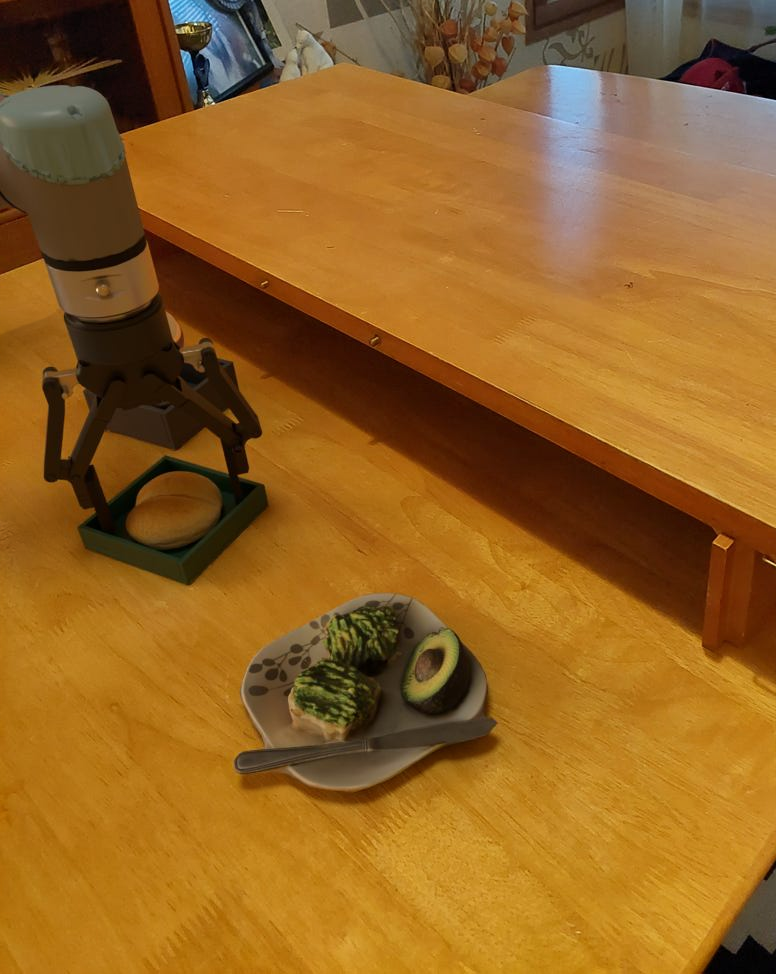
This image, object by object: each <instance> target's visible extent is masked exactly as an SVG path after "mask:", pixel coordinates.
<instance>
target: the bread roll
mask: <svg viewBox="0 0 776 974" xmlns="http://www.w3.org/2000/svg"><path fill="white" fill-rule="evenodd" d="M222 507H223V498H222V495H221V493H220V491H219V488H218V487H217V486H216V485H215V484H214V483H213V482H212V481H211V480H210V479H208V478H206V477H204V476H202V475H199V474H196V473H193V472H185V471H175V472H169V473H165V474H162V475H160V476H158V477H156V478H154V479H152V480H151V481H150V482H148V483H147V484H146V485H144V486H143V488H142V489H141V490H140V491H139V493H138V496H137V500H136V505H135V507H134V508H133V509H132V510H131V512H130V513H129V514H128V517H127V519H126V530H127V532H128V534H129V535H130V536H131V537H132V538H133V539H134V540H136V541H137V542H139V543H141V544H143V545H145V546H147V547H149V548H151V549H154V550H170V549H176V548H180V547H184V546H186V545H188V544H191V543H193V542H195V541H197V540H199V539H201V538H203V537H204V536H206V535H207V534H208V533H209V532H210V531H211V530H212V529H213V528H214V527H215V526H216V524H217V523H218V521H219V518H220V514H221V509H222Z"/></svg>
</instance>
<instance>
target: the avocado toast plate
mask: <svg viewBox="0 0 776 974" xmlns="http://www.w3.org/2000/svg"><path fill="white" fill-rule="evenodd" d="M440 619H441V618H439V617H438V616H437V615H436V613H434V612H433V611H432V609H430V608H429V607H427V606H426V605H425V604H424V603H423V602H422V601H420V600H418V599H416V598H415V597H412V596H409V595H406V594H401V593H393V592H392V593H391V592H389V593H388V592H374V593H367V594H363V595H361V596H358V597H355V598H352V599H351V600H348V601H346V602H344V603H342V604H340V605H338V606H336V607H334V608H333V609H330V610H329V611H327V612H325V613H323V614H321V615H320V616H318V617H316V618H315V619H312V620H310V621H308V622H307V623H305V624H304V625H301V626H299V627H297V628H295V629H291V630H290V631H289V632H287V633H286V634H284V635H282V636H280V637H278V638H276V639H274V640H273V641H271V642H269V643H268V644H266V645H264V646H263V647H262V648H261V649H259V650H258V651H257V652H256V654H255V655H254V656H253V658H252V659H251V660H250V662H249V663H248V665H247V668H246V671H245V674H244V676H243V679H242V682H241V684H240V687H239V691H238V692H239V696H240V699H241V703H242V705H243V706H244V708H245V710H246V711H247V712H248V716H249V718H250V720H251V722H252V724H253V726H254V727H255V729H256V730H257V731H258V733H259V734H260V735H261V738H262V741H263V745H264V748H259V749H252V750H251V749H250V750H244V751H241V752H240V753H239V754H237V755H236V756H235V758H234V759H233V768H234V772H236V774H239V775H241V776H242V775H243V776H248V775H261V774H269V773H281V774H284V775H289V776H290V777H292V778H293V779H296V780H298V781H299V782H300V783H302V784H303V785H305V786H307V787H310V788H314V789H319V790H320V789H321V790H324V791H336V792H343V793H349V794H350V793H356V792H359V791H362V790H366V789H369V788H372V787H374V786H376V785H379V784H382V783H384V782H386V781H388V780H390V779H392V778H393V777H395V776H398V775H399V774H401V773H402V772H404V771H405V770H407V769H408V768H410V767H411V766H413V765H414V764H416V763H417V762H419V761H421V760H422V759H424V758H426V757H427V756H429V755H430V754H432V753H433V752H436V751H437V750H440V749H441V748H445V747H447V746H450V745H451V746H452V745H456V744H460V743H461V744H462V743H465V742H470V741H471V740H475V739H478V738H479V739H480V738H482V737H484V736H487V735H490V733H491V732H492V731H493V729H494V728H495V727H496V726H497V725H498V724H499V722H498V721H497V720H495V719H494V718H493V717H492V716H488V717H487V716H485V714H486V712H485V710H486V705H487V697H488V695H489V694H488V693H489V689H488V688H489V685H488V680H487V674H486V672H485V670H484V668H483V666H482V664H481V662H480V661H479V659H478V658H477V656H476V655H475V654H474V653H473V652H472V651H471V650H470V648H468V647H467V646H466V644H465V643H464V642H463V641H462V640H461V638H460V637H459V636H458V634H457V633H456V632H455V631H454V630H453V629H452V628H449V627H448V626H447V625H446V624H445V622H443V621H442V620H440Z"/></svg>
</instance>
